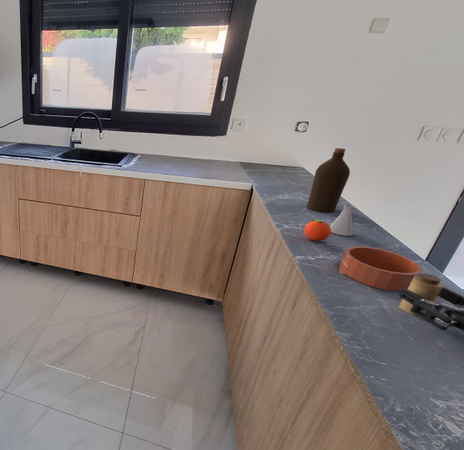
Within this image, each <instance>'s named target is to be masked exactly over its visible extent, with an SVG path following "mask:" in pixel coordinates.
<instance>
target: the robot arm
mask: <svg viewBox="0 0 464 450" xmlns="http://www.w3.org/2000/svg"><path fill="white" fill-rule="evenodd" d="M398 296H399V298H400V299H401V300H402V299H404V300H405V301H407V302H409V303H410V304H412V305H413V306H412V308H411V310H410V311H411V312H412V313H414V314H416V315H417V316H416V315H415V316H416V317H419V318H420V319H422V320H424V321H426V322H428V323H429V324H431V325H432V326H434V327H436V328H438V329H440V330H442V331H447V329H448V328H449V327H453V328H456V329H458V330H461V331H462V332H464V296H463V295H461V294H460V293H458V292H455V291H453V290H451V289H449V288H447V287H445V286H443V288H442V290H441V291H440V293H439V295H438V297H439V298H440V299H442V300H443V301H446V302H447V303H445V302H442V301H438V302H436V301H435V302H432V301H429V300H426V299H424V298H423V297H421V296H419V295H417V294H415V293H414V292H412V291H410V290H408V289H402V290H401V291H399V294H398ZM448 303H450V304H448ZM428 305H430V306H432V307H430V306H428ZM443 309H444V311H443V313H442V312H441V311H442V310H443ZM420 311H421V312H420ZM422 312H424V313H425V314H424V313H422Z"/></svg>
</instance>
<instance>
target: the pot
mask: <svg viewBox="0 0 464 450" xmlns="http://www.w3.org/2000/svg"><path fill="white" fill-rule="evenodd" d="M423 271H424V268H423V267H422V265H421V264H419V263H418V262H416V261H415V260H413V259H411V258H409V257H407V256H405V255H402V254H399V253H396V252H394V251H391V250H386V249H383V248H377V247H371V246H364V245H363V246H362V245H361V246H357V245H356V246H351V247H347V249H345V250H344V253H343V255H342V258H341V261H340V263H339V266H338V272H339V274H341V275H346V276H348V277H349V278H351V279H353V280H354V281H357V282H359V283H362V284H364V285H368V286H370V287H373V288H377V289H382V290H384V291H394V292H401V290H402V289H408V287H409V285H410V283H411V281H412V279H413V277H414V276H420V274H422V273H423Z"/></svg>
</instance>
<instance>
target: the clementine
mask: <svg viewBox="0 0 464 450" xmlns="http://www.w3.org/2000/svg"><path fill="white" fill-rule="evenodd" d="M303 230H304V235H305V236H306V238H308V239H309V240H310V241H313V242H322V241H325V240H327V239H328V238H329V237H330V236H331V234H332V232H331V228H330V224H328V223H327V222H326V221H323V220H321V219H312V220H311V221H310V222H308V223H307V224H306V225H305V227H304V229H303Z"/></svg>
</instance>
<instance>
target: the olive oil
mask: <svg viewBox="0 0 464 450" xmlns="http://www.w3.org/2000/svg"><path fill="white" fill-rule="evenodd" d="M345 152H346V148H340V147H339V148H338V147H336V148H334V151H333V152H332V153H333V154H332V156H331V158H330V159H327V160H326V161H324V162H323V163H321V164H320V165H318V167H317V168H316V170H315V171H314V172H315V173H314V175H313V176H314V177H313V180H312V185H311V189H310V193H309V197H308V200H307V204H306V207H307V209H309V210H312V211H314V212H320V213H333V212H335V211H336V209H337V207H338V203H339V201H340V198H341V196H342V194H343V191H344V189H345V187H346V185H347V182H348V180H349V177H350V175H351V171H350V167H349V166H348V164H347V163H346V162H345V160H344V156H345V154H346V153H345Z"/></svg>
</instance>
